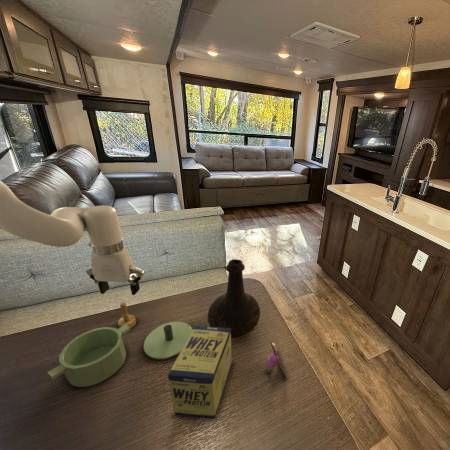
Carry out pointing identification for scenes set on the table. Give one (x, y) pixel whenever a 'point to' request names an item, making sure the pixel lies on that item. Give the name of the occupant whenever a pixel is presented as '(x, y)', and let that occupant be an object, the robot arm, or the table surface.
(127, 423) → the table surface
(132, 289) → the robot arm
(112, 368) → the pot
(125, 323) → the disc with rod handle
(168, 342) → the pot lid
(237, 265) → the glass bottle
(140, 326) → the table surface
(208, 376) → the protein box
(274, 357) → the purple flower twig
